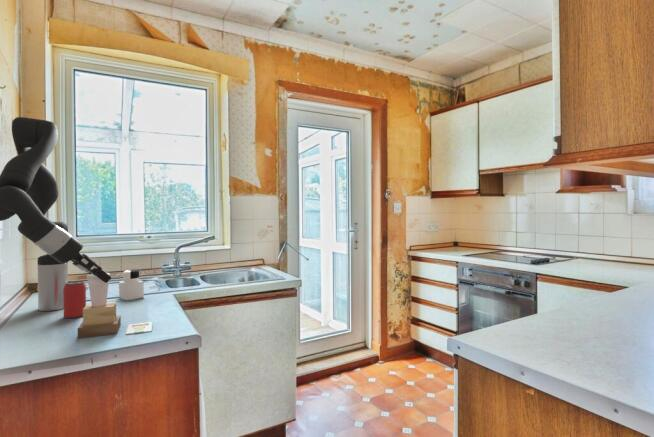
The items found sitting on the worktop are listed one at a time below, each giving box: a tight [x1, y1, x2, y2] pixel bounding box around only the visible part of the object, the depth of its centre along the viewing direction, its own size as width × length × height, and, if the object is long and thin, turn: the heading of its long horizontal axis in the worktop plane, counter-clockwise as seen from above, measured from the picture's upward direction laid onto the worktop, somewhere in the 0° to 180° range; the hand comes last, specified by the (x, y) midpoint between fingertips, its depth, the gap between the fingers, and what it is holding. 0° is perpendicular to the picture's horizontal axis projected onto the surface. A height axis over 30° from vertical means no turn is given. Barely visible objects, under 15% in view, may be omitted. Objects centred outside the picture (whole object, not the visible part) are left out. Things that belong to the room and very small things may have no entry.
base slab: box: [77, 315, 122, 339], centre depth 113 cm, size 10×10×3 cm
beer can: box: [63, 280, 87, 319], centre depth 130 cm, size 7×7×12 cm
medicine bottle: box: [118, 269, 145, 301], centre depth 157 cm, size 7×7×12 cm
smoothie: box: [86, 259, 111, 307], centre depth 113 cm, size 6×6×14 cm
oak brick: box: [82, 301, 117, 326], centre depth 113 cm, size 6×8×5 cm
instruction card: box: [125, 321, 153, 336], centre depth 116 cm, size 10×7×1 cm
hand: (104, 278), depth 114 cm, fingers open, 8 cm apart
